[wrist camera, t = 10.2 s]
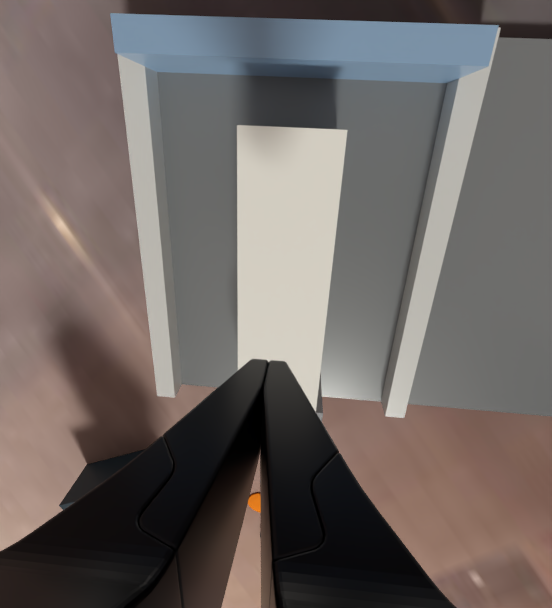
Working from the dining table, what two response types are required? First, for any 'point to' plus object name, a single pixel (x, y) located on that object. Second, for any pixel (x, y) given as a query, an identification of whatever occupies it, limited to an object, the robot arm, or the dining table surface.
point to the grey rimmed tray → (355, 198)
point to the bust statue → (96, 476)
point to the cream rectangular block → (287, 245)
